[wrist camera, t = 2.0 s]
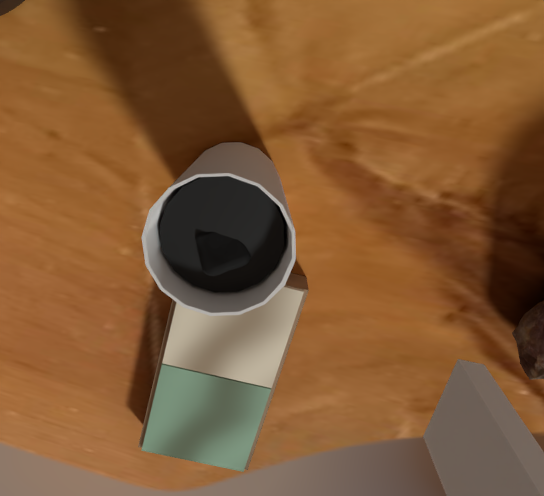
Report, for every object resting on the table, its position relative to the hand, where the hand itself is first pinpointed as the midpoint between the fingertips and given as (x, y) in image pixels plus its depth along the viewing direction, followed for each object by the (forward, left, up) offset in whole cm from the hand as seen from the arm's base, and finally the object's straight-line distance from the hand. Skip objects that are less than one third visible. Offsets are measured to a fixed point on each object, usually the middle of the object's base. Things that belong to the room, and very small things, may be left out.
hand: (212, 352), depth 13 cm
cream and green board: (+2, -13, -19) cm, 23 cm away
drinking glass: (0, -1, -19) cm, 19 cm away
